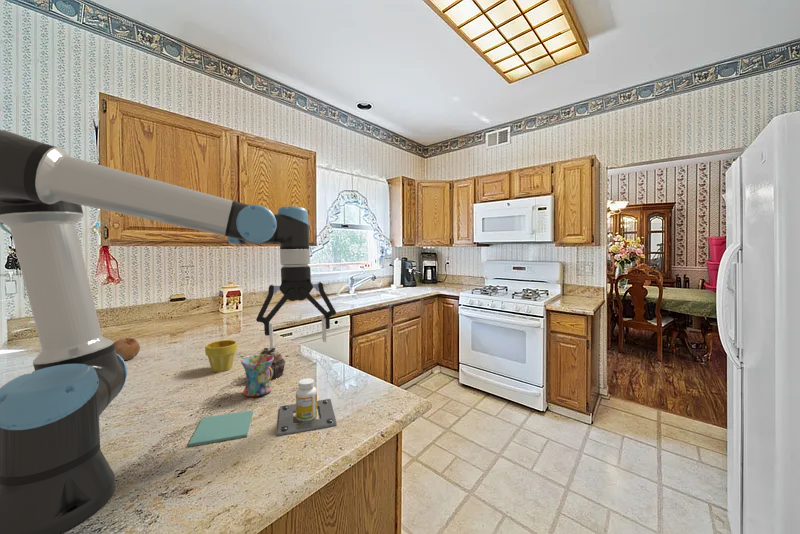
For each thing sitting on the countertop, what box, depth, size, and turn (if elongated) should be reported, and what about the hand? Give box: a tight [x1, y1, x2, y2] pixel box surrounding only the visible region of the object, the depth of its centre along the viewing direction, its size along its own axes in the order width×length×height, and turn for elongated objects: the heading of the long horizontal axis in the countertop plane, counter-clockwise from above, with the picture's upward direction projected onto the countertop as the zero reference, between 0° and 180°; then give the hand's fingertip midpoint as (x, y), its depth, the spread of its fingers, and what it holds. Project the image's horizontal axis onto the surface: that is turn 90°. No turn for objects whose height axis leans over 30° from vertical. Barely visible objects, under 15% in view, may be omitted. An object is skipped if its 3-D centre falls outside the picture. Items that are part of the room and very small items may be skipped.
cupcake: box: [259, 347, 286, 381], centre depth 111 cm, size 10×10×10 cm
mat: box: [188, 409, 254, 447], centre depth 79 cm, size 12×12×1 cm
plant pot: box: [204, 339, 238, 373], centre depth 118 cm, size 10×10×10 cm
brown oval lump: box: [113, 337, 141, 361], centre depth 129 cm, size 10×9×10 cm
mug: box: [240, 354, 274, 397], centre depth 98 cm, size 12×9×11 cm
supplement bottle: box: [295, 378, 318, 422], centre depth 84 cm, size 5×5×10 cm
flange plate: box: [277, 398, 337, 437], centre depth 84 cm, size 14×14×1 cm
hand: (298, 344), depth 85 cm, fingers open, 13 cm apart
